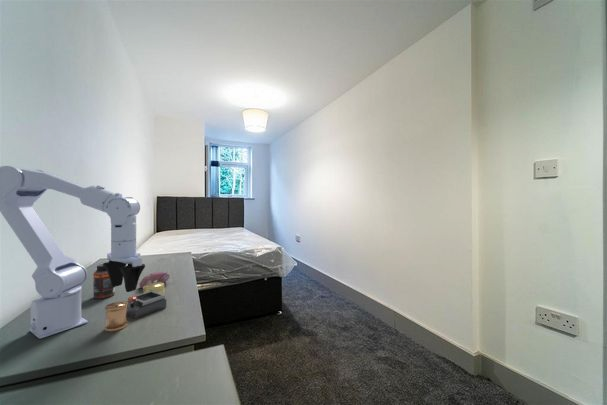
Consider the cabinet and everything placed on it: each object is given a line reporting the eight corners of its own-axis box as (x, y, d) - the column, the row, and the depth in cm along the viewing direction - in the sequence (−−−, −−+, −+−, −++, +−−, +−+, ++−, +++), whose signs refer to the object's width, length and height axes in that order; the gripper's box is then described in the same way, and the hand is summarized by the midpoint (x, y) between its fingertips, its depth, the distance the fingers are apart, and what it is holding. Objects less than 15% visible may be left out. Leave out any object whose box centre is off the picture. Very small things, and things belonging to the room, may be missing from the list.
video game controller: (141, 293, 93) (145, 279, 91) (137, 286, 96) (140, 271, 94) (168, 286, 101) (172, 273, 99) (164, 279, 104) (167, 266, 102)
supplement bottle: (119, 293, 90) (119, 262, 90) (104, 299, 84) (104, 266, 84) (104, 292, 90) (104, 262, 90) (88, 299, 84) (88, 266, 84)
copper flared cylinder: (110, 333, 63) (110, 310, 63) (101, 328, 65) (101, 306, 65) (131, 325, 67) (131, 303, 67) (122, 320, 69) (122, 299, 69)
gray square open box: (135, 318, 71) (135, 302, 71) (120, 311, 75) (120, 296, 75) (166, 307, 78) (166, 292, 78) (150, 301, 83) (150, 287, 83)
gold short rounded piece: (149, 301, 83) (149, 289, 83) (139, 297, 86) (139, 286, 86) (168, 295, 88) (168, 284, 88) (158, 291, 92) (158, 281, 92)
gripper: (153, 240, 69) (153, 288, 69) (126, 236, 76) (126, 280, 76) (125, 244, 63) (125, 297, 63) (98, 239, 70) (98, 287, 70)
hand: (123, 288), depth 69 cm, fingers open, 7 cm apart
